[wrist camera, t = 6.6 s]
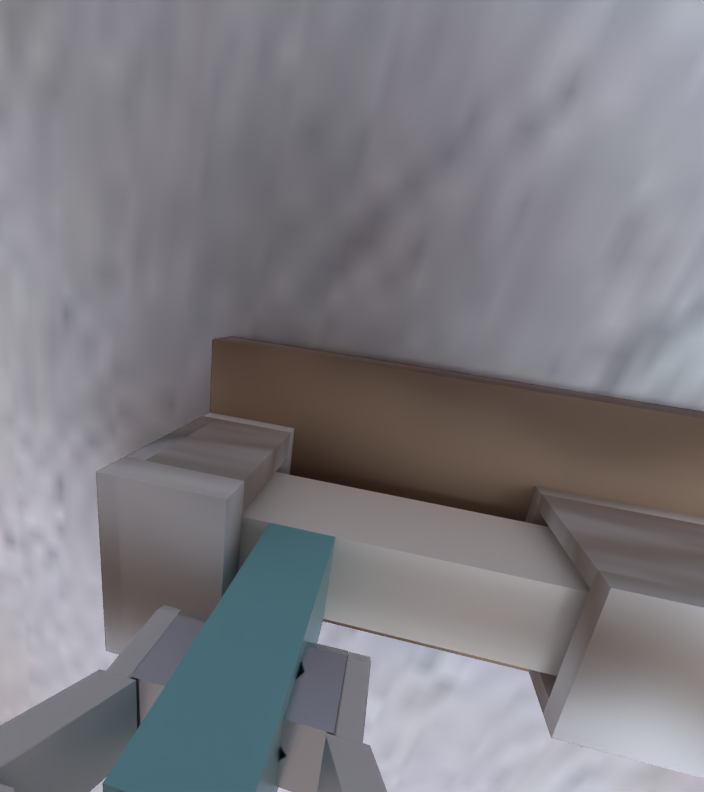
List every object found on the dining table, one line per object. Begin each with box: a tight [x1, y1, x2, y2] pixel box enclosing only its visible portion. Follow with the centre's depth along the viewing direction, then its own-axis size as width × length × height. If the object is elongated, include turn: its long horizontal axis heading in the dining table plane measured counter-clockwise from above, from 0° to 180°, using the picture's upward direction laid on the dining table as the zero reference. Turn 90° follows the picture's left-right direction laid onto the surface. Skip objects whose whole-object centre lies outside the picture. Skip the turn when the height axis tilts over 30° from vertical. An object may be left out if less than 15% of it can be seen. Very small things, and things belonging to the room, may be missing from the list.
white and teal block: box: [103, 472, 590, 792], centre depth 9 cm, size 3×16×9 cm, turn 82°
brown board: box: [96, 337, 704, 778], centre depth 12 cm, size 12×24×7 cm, turn 82°
